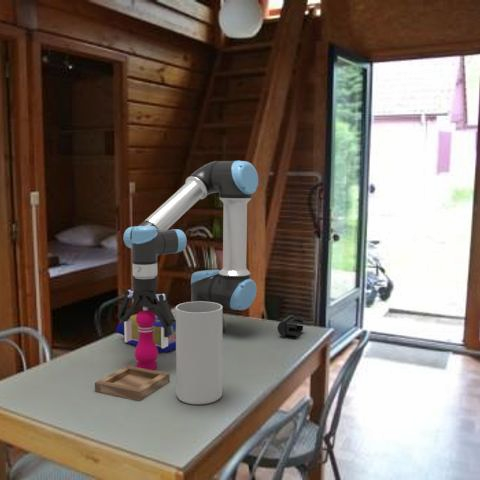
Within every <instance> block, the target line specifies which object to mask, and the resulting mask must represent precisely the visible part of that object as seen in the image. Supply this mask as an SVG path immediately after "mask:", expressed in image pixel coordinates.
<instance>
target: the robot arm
mask: <svg viewBox="0 0 480 480" xmlns="http://www.w3.org/2000/svg"><path fill="white" fill-rule="evenodd" d="M258 175H259V174H258V171H257V170H256V168H255V167H254V165H253V163H251V162H249V161H245V160H223V161H222V160H213V161H211V162H209V163H206V164H203V166H200V168H198V169H197V170H195V171H194V172H193V173H191V174H190V175H189V176H188V177H187V178H186V179H185V182H184V184H183V185H182V186H181V187H180V188H179V189H178V190H177V191H176V192H175V193H174V194H172V195H171V196H170V197H169V198H168V199H167V200H166V201H165V202H163V203H162V204H161V205H160V206H159V207H158V208H157V209H156V210H155V211H154V212H152V213H151V214H150V215H148V217H147V218H146V219H145V220H143V222H141V223H140V224H139V225H137V226H136V225H134V226H130V227H128V228H126V229H125V231H124V233H123V237H122V238H123V242H124V245H125V246H126V247H127V248H129V249H131V258H132V260H131V261H132V276H133V278H132V289H127V290H125V291H124V296H123V297H124V298H123V300H122V302H121V305H120V306H119V310H118V312H117V314H116V318H117V319H120V320H121V321H122V323H123V331H124V333H125V337H124V343H127V342H129V341H131V340H132V325H131V320H128V319H130V317H131V316H132V315H134V313H135V312H136V310H137V309H138V308H139V307H140V308H141V307H142V308H143V306H144V307H147V308H149V309H150V311H152V312H153V313H154V314H155V315H156V316H157V317H158V319H159V320H160V322H161V323H162V325H163V327H161V348H165V347H167V346H168V337H169V336H170V326H172V325H174V324H176V321H175V320H176V317H175V316H174V313H173V311H172V309H171V307H170V305H169V301H168V297H167V293H165V292H164V293H162V294H161V293H158V292H157V291H158V286H159V285H158V283H159V281H158V277H157V276H158V274H159V273H158V256H163V255H170V254H171V255H172V254H177V253H181V252H183V251H184V250H185V249H186V246H187V245H188V243H187V236H186V233H185V232H184V231H183V230H182V229H176V228H175V229H174V228H172V229H170V227H172V226H173V225H174V224H175V223H176V222H177V221H178V220H179V219H180V218H181V217H182V216H183V215H185V214H186V212H187V211H189V210H190V209H191V208H192V207H193V206H194V205H196V203H197V202H198V201H200V200H204V199H205V198H207V196H208V195H210V194H216V193H217V194H218V193H219V200H220V201H221V202H222V203H223V218H222V219H223V222H222V223H223V224H222V225H223V227H222V228H223V229H222V235H223V237H222V241H223V242H222V250H223V251H222V269H207V270H198V271H194V272H193V273H192V274H191V281H190V295H191V296H190V298H191V299H190V302H196V301H204V302H214V303H218V304H220V305H222V308H227V309H231V310H234V311H237V310H238V311H244V310H247V309H249V308H250V307H251V305H252V304H253V302H254V301H255V299H256V296H257V292H258V291H257V290H258V289H257V288H258V287H257V284H256V282H255V281H254V280H253V279H251V272H250V271H249V270H248V268H247V240H248V239H247V238H248V237H247V236H248V234H247V233H248V231H247V229H248V203H249V202H250V201H251V200H252V195H253V194H254V193H255V192H256V191H257V188H258V187H259V176H258ZM133 298H134V301H133V302H132V303H131V301H132V299H133ZM130 304H131V305H130ZM226 322H227V321H226V320H225V316H224V314H223V312H222V333H224V332H225V331H226V329H227V323H226Z"/></svg>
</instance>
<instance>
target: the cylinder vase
mask: <svg viewBox="0 0 480 480" xmlns="http://www.w3.org/2000/svg"><path fill="white" fill-rule="evenodd" d="M222 313H223V307H222V305H220V304H218V303H214V302H204V301H196V302H191V301H186V302H183V303H179V304H177V305H176V306H175V320H176V349H175V362H176V363H175V369H176V371H175V375H176V376H175V377H176V378H175V379H176V380H175V381H176V382H175V383H176V385H175V386H176V393H175V394H176V397H177V399H178V400H179V401H181V402H183V403H185V404H190V405H208V404H212V403H215V402H217V401H218V400H219V399H221V398H222V395H223V332H222Z"/></svg>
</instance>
